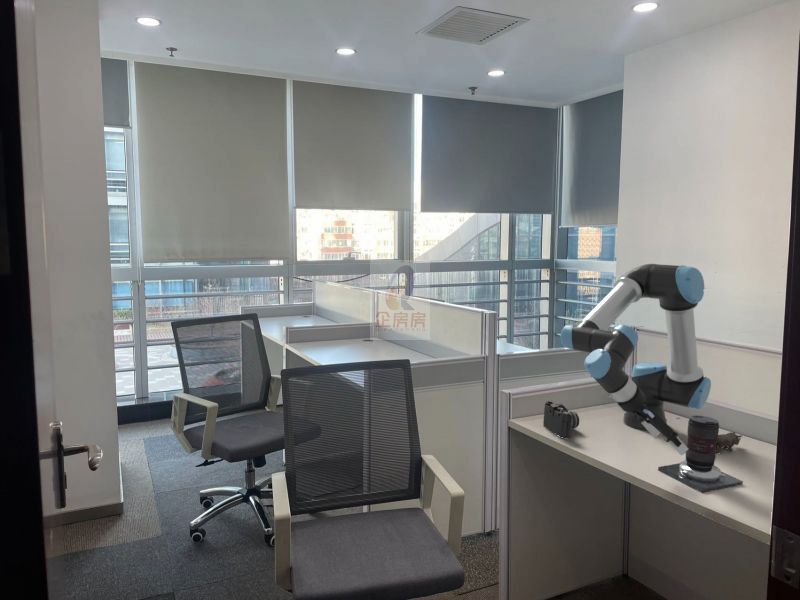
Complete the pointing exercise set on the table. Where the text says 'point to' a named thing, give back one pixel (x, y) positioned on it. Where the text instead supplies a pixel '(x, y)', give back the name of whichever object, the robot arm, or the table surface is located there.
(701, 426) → the camera lens
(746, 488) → the table surface
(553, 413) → the camera
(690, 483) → the mount
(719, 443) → the rhino figurine
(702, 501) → the table surface
